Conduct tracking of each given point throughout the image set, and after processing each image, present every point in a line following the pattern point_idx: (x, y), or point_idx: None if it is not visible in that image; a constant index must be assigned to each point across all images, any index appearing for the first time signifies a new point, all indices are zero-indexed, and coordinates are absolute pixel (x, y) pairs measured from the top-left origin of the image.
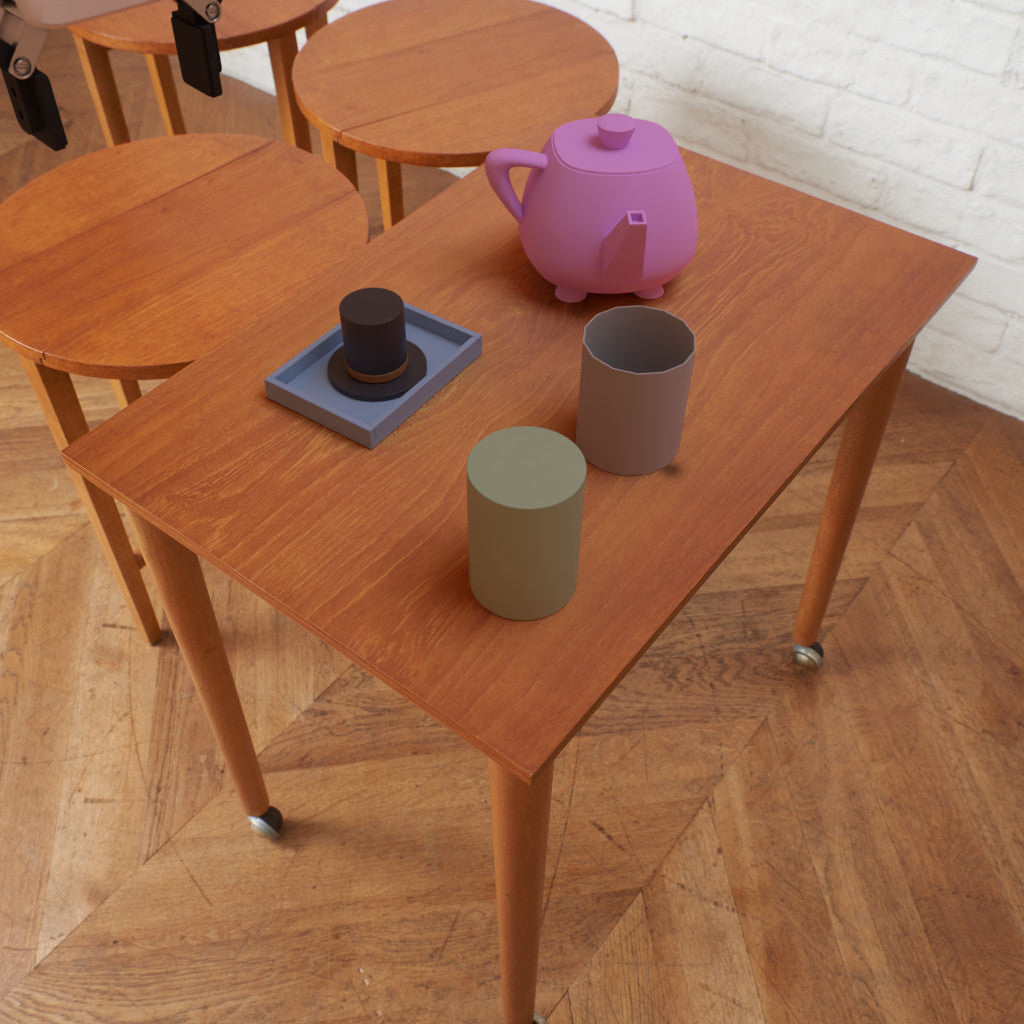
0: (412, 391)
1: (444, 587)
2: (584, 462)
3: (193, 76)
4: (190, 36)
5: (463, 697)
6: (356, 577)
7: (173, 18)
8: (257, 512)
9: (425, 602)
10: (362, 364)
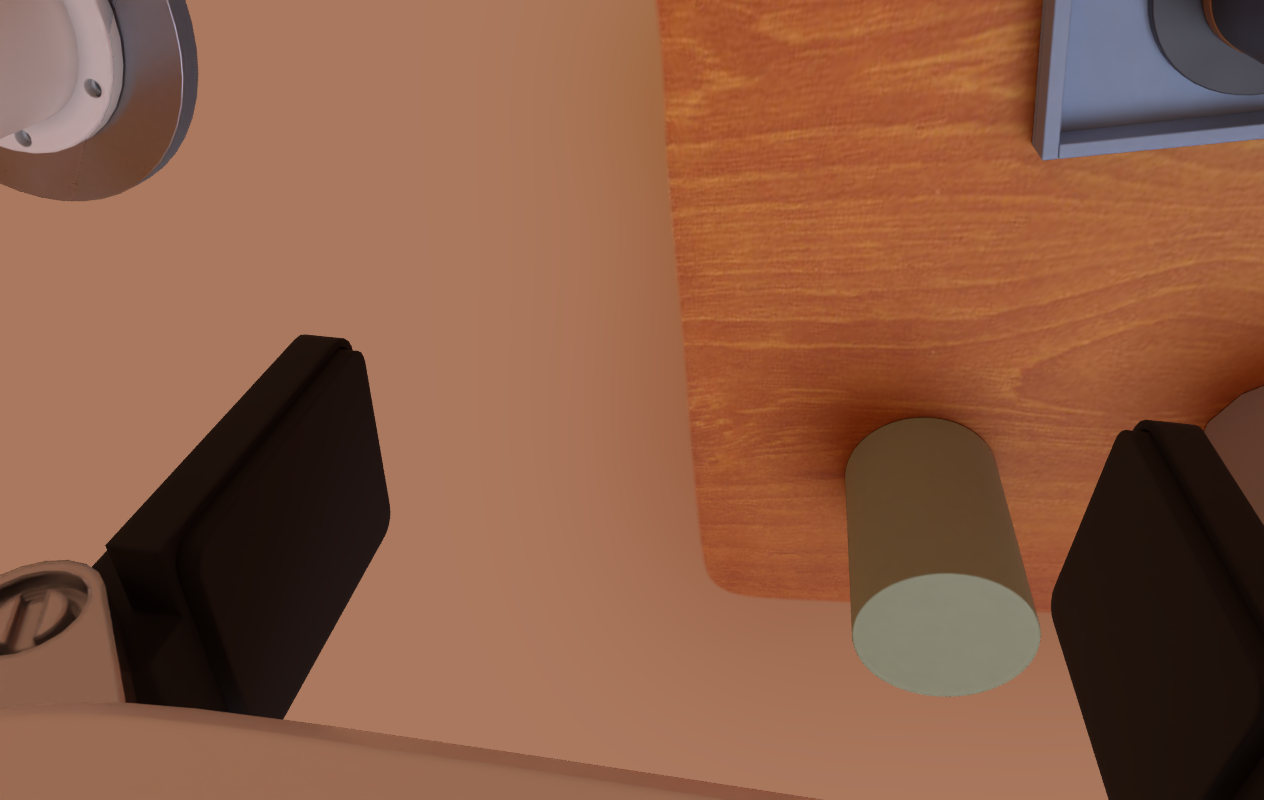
0: (1206, 137)
1: (842, 414)
2: (999, 685)
3: (1104, 551)
4: (1156, 772)
5: (725, 513)
6: (778, 321)
7: (1251, 715)
8: (776, 108)
9: (805, 411)
10: (1223, 14)
